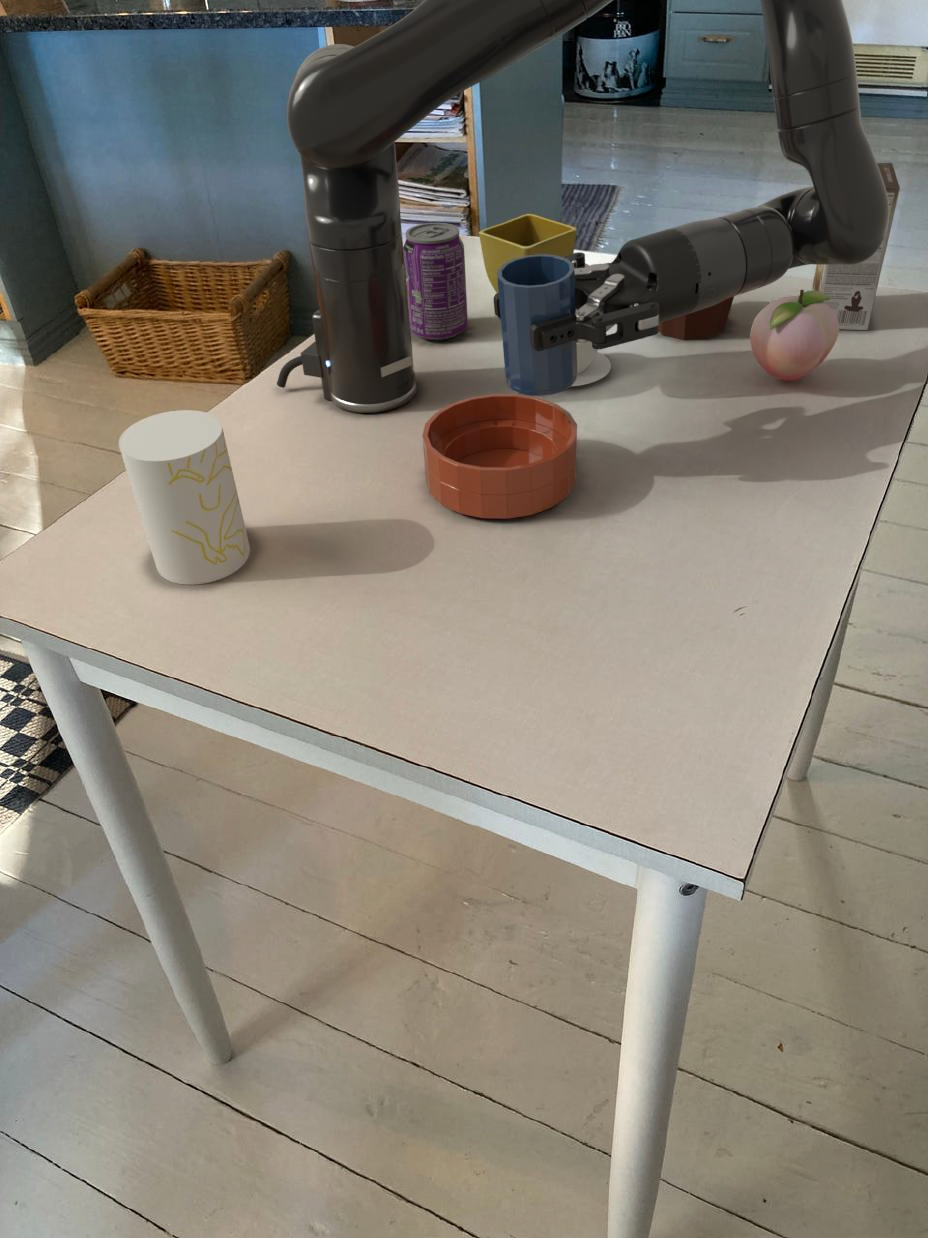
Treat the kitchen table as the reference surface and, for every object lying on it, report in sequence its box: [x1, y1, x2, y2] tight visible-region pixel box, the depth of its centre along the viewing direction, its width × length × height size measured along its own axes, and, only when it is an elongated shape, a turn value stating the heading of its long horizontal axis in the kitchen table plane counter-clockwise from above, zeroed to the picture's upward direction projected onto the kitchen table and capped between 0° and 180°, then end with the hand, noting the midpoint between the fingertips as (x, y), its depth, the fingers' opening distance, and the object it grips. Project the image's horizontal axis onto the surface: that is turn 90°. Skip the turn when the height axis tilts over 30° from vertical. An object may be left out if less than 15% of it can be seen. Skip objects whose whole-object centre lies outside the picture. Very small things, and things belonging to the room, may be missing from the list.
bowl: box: [421, 393, 578, 520], centre depth 92 cm, size 14×14×6 cm
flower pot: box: [478, 213, 578, 294], centre depth 124 cm, size 9×9×9 cm
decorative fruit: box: [749, 289, 840, 382], centre depth 104 cm, size 9×8×10 cm
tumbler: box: [497, 254, 577, 397], centre depth 86 cm, size 6×6×10 cm
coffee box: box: [811, 162, 901, 331], centre depth 114 cm, size 9×6×16 cm
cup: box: [118, 409, 251, 586], centre depth 83 cm, size 8×8×12 cm
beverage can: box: [403, 222, 469, 341], centre depth 117 cm, size 7×7×12 cm
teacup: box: [571, 341, 612, 387], centre depth 110 cm, size 10×10×5 cm
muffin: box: [658, 296, 735, 341], centre depth 116 cm, size 12×11×10 cm
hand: (514, 322), depth 85 cm, fingers closed on tumbler, 6 cm apart
